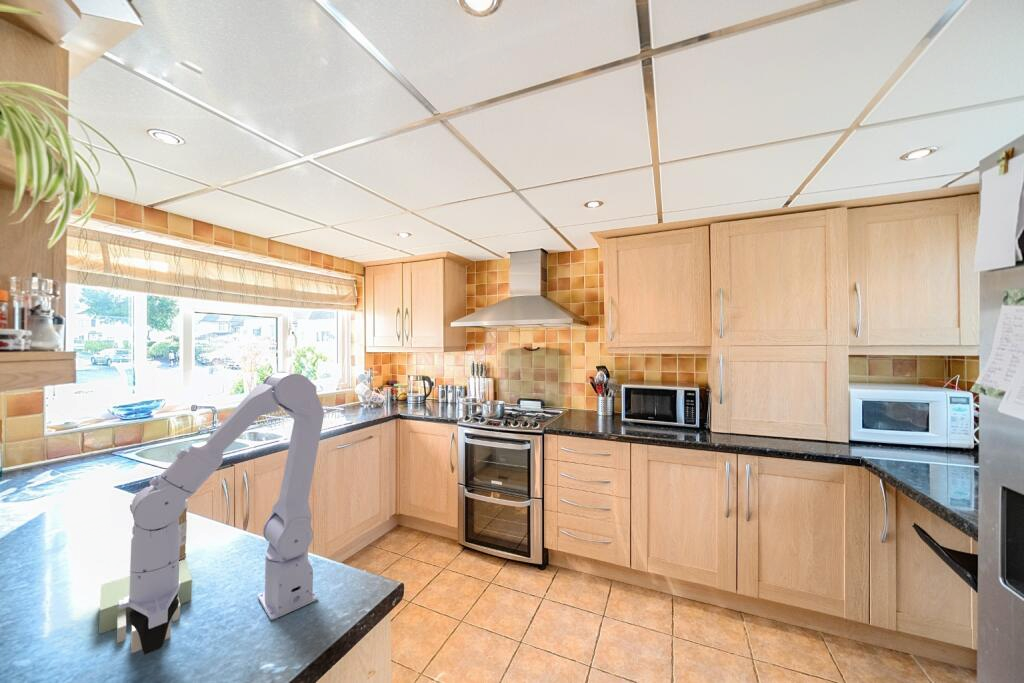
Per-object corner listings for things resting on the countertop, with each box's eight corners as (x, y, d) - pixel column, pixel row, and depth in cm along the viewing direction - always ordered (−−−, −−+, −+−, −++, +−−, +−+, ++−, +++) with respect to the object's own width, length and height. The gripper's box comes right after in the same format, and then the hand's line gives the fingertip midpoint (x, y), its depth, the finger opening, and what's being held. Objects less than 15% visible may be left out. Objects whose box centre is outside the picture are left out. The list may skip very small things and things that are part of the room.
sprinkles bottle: (170, 555, 88) (172, 497, 88) (191, 554, 89) (192, 496, 89) (153, 566, 84) (155, 505, 84) (175, 565, 84) (177, 504, 84)
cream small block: (170, 638, 63) (171, 611, 63) (131, 653, 60) (132, 625, 60) (168, 626, 66) (169, 600, 66) (130, 640, 63) (132, 613, 63)
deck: (195, 613, 69) (195, 591, 69) (98, 650, 60) (98, 625, 60) (184, 578, 79) (185, 559, 79) (100, 606, 71) (101, 584, 71)
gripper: (118, 554, 62) (116, 638, 62) (120, 594, 52) (116, 694, 52) (176, 539, 67) (173, 616, 67) (187, 573, 57) (184, 663, 57)
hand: (152, 649), depth 60 cm, fingers closed
